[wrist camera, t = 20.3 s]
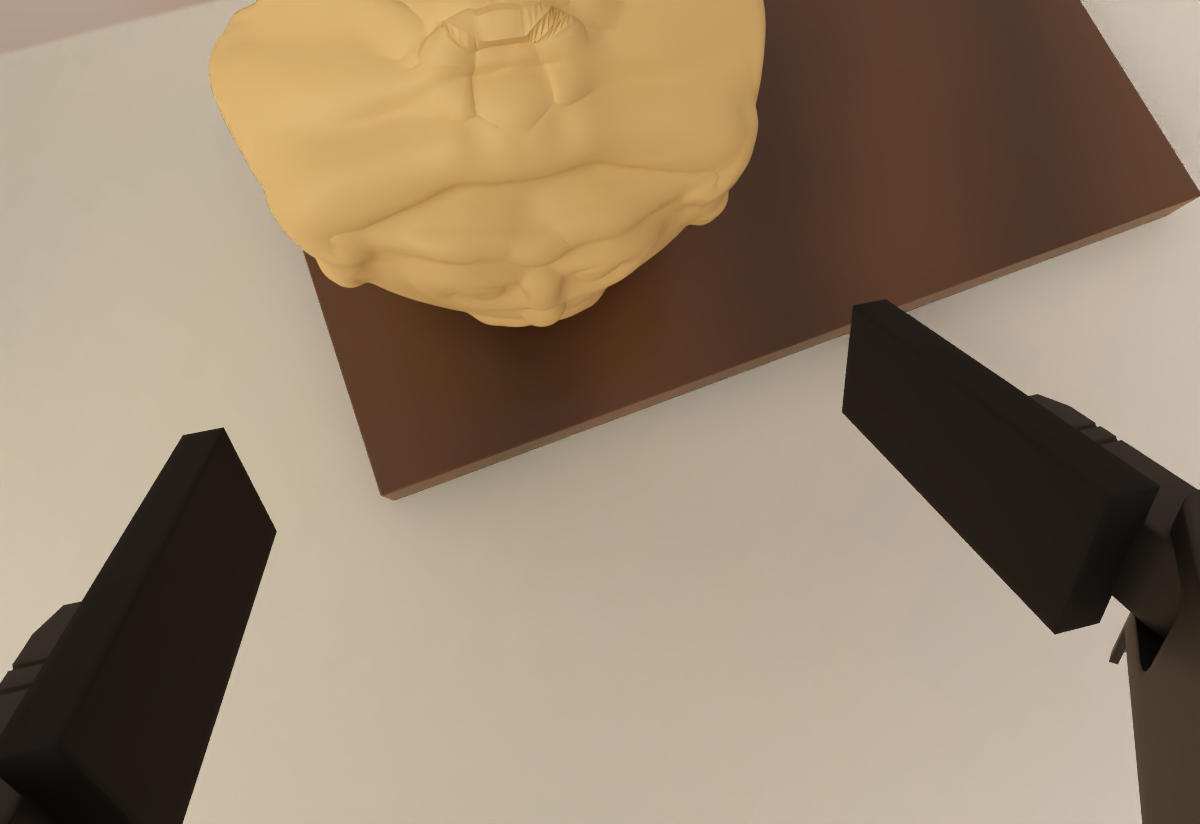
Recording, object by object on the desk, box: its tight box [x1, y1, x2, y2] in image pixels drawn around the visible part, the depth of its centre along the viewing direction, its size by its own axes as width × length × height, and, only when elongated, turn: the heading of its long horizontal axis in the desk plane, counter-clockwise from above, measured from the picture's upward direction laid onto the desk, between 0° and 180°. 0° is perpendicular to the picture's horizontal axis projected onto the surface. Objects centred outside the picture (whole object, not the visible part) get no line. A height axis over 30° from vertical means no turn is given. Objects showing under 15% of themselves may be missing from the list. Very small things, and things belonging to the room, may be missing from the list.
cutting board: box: [303, 0, 1200, 500], centre depth 24 cm, size 30×16×2 cm, turn 111°
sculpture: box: [209, 0, 766, 327], centre depth 17 cm, size 12×12×11 cm
